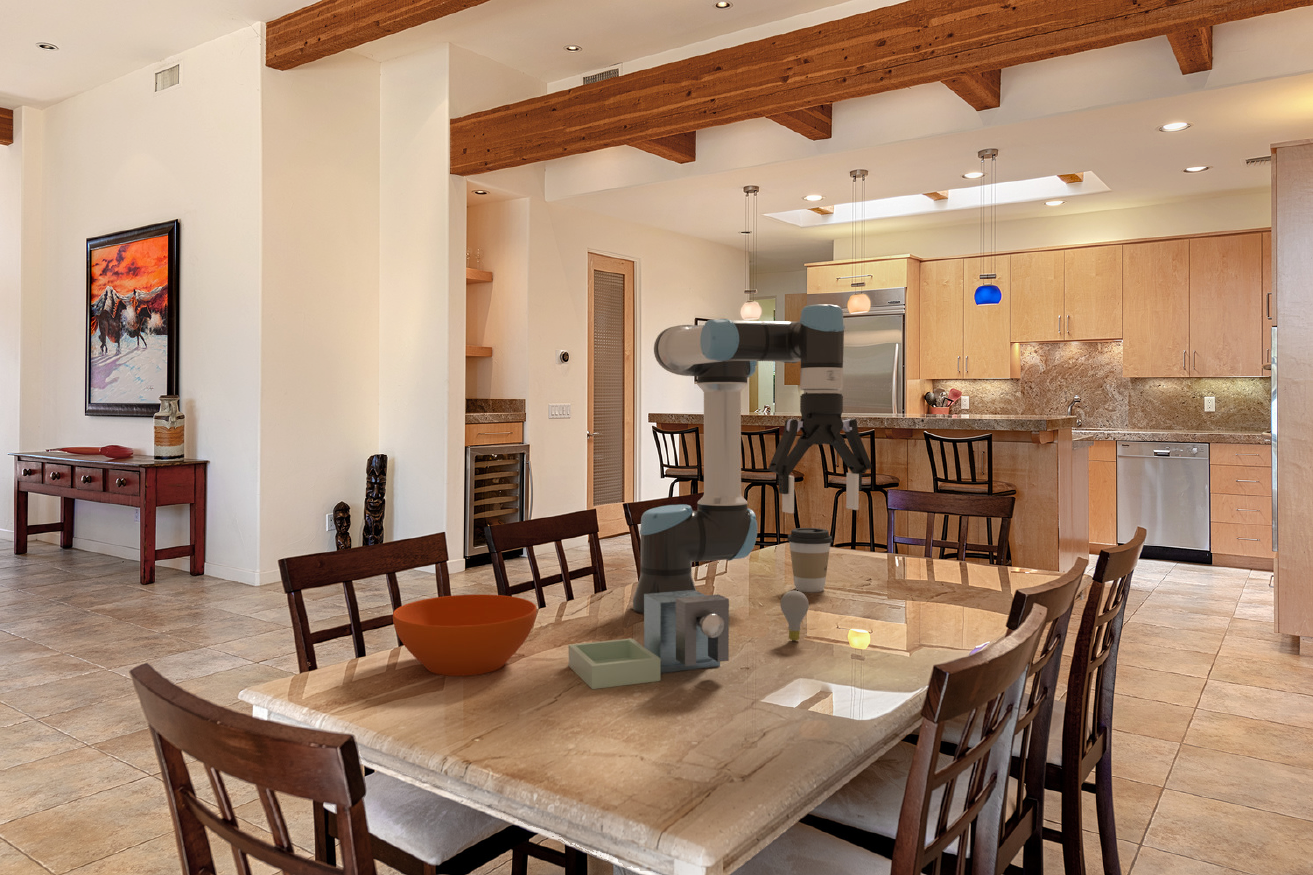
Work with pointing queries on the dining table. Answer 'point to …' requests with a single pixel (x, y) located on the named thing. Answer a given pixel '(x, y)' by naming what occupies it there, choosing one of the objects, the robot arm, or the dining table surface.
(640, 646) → the tray
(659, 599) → the blue knob box
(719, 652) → the grey u-shaped block
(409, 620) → the bowl
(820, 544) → the coffee cup
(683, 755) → the dining table surface
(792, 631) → the light bulb
